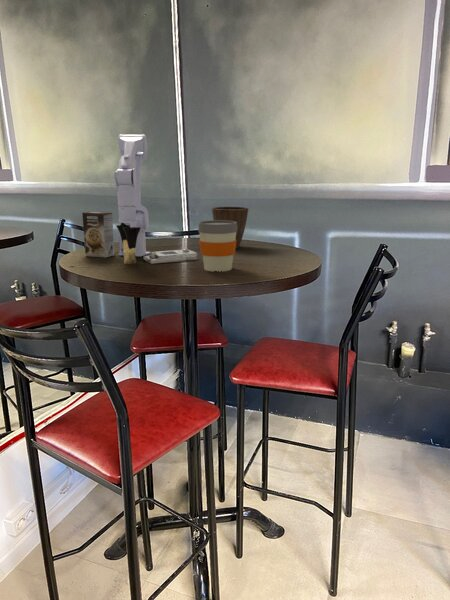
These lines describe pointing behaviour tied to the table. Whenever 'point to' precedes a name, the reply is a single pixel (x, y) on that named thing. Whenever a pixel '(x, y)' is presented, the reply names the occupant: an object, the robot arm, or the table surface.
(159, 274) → the table surface
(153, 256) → the square-hole plate
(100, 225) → the coffee box
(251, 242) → the table surface
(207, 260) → the reusable coffee cup
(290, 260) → the table surface
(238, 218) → the plant pot
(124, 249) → the brass pin
